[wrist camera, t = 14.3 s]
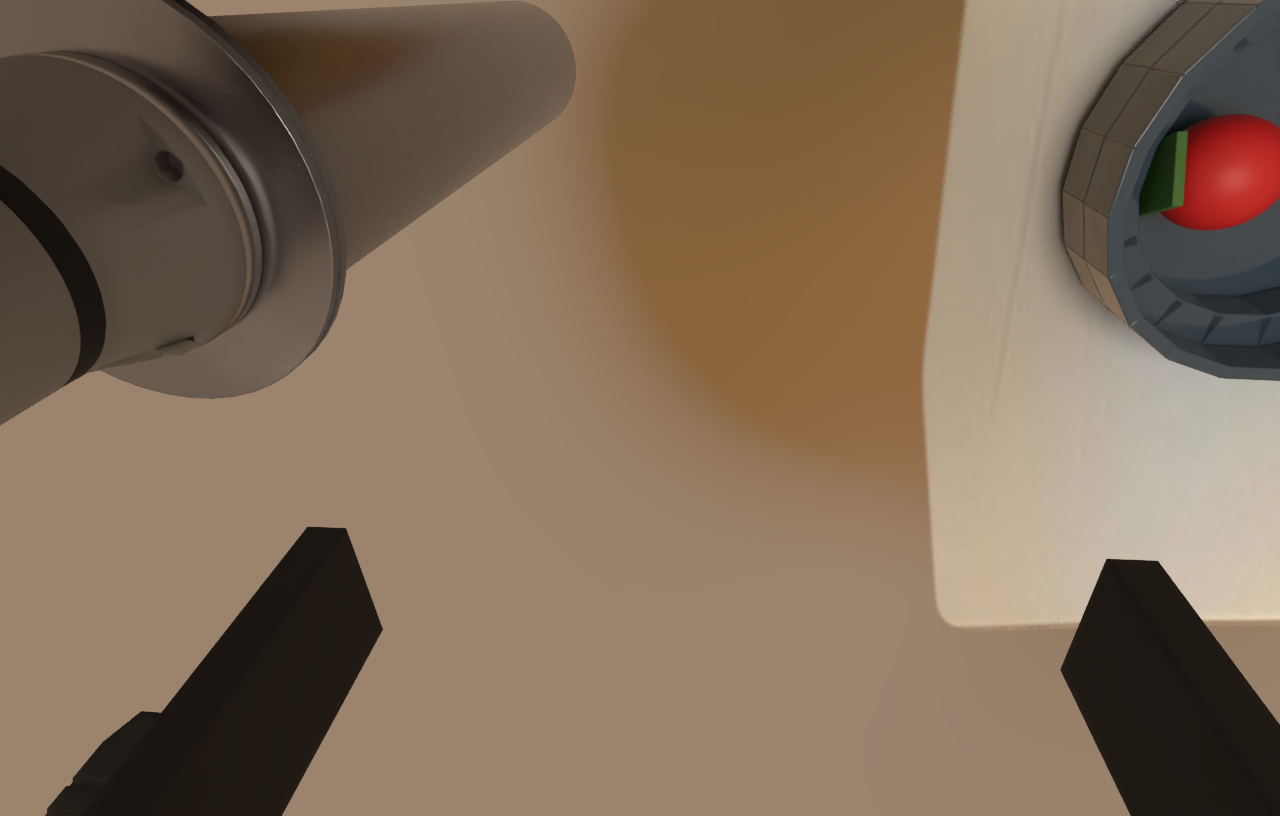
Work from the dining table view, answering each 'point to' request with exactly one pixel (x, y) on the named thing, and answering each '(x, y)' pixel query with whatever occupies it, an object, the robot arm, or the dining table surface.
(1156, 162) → the strawberry
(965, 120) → the dining table surface
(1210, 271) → the bowl
